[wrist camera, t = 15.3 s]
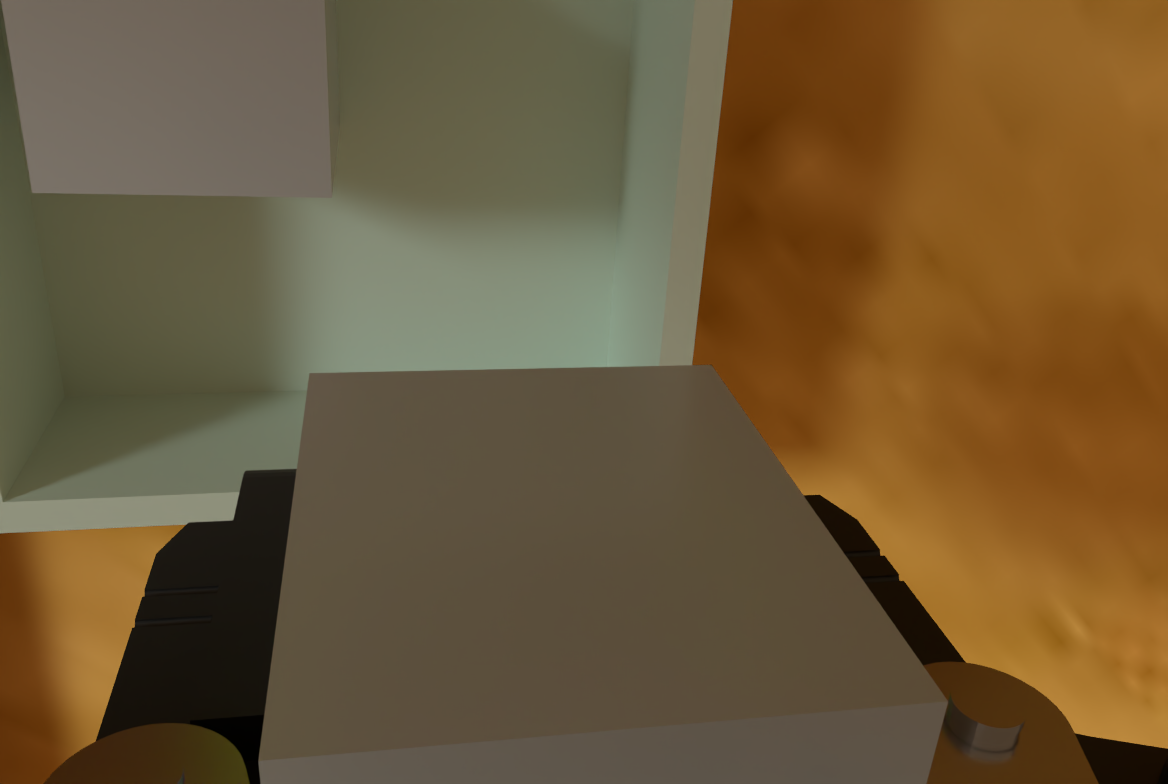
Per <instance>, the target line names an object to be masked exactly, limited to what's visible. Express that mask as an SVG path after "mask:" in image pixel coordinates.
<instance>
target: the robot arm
mask: <svg viewBox="0 0 1168 784" xmlns="http://www.w3.org/2000/svg"><path fill="white" fill-rule="evenodd" d="M296 471H297V469H273V470H246V471H245V472H244V474H243V478H242V483H241V487H240V492H239V496H238V501H237V506H236V510H235V515H234V519H233V520H231V521H209V522H189V523H188V524H187V525H186V526H185V527H184V528H183V529H182V530H180V531H179V532H178V533H177V534H176V535H175V536H174V537H173V538H172V539H171V540H170V541H169V542H168V543H167V544H166V545H165V546H164V547H163V548H162V549H161V550H160V551H159V552H158V553H157V554H156V556H155V559H154V562H153V566H152V569H151V572H150V575H149V578H148V581H147V584H146V587H145V597H142V600H141V603H140V606H139V609H138V612H137V615H136V618H135V628H132V631H131V634H130V637H129V640H128V643H127V646H126V649H125V652H124V655H123V659H122V662H121V665H120V668H119V671H118V674H117V677H116V680H115V683H114V686H113V689H112V693H111V696H110V699H109V702H108V705H107V708H106V711H105V714H104V717H103V720H102V724H101V727H100V730H99V733H98V736H97V739H96V742H94V743H92V744H90V745H88V746H87V747H85V748H83V749H81V750H80V751H78V752H77V753H76V754H74V755H73V756H71V757H70V758H69V759H67V760H66V761H65V762H64V763H63V764H62V765H60V766H59V767H58V768H57V769H56V770H55V771H54V772H53V773H52V774H51V775H50V777H49V778H48V779H47V780H46V781H45V782H44V784H261V783H260V773H259V763H258V760H259V752H260V744H261V737H262V729H263V722H264V714H265V706H266V699H267V691H268V684H269V676H270V668H271V661H272V653H273V646H274V638H275V630H276V623H277V615H278V608H279V600H280V592H281V585H282V577H283V570H284V562H285V554H286V547H287V539H288V532H289V524H290V517H291V509H292V501H293V494H294V486H295V479H296ZM804 497H805V499H806V500H807V501H808V503H809V504H810V506H811V507H812V509H813V510H814V511H815V513H816V514H817V516H818V517H819V518H820V520H821V521H822V523H823V524H824V526H825V527H826V528H827V530H828V531H829V533H830V534H831V536H832V537H833V538H834V540H835V541H836V543H837V544H838V545H839V547H840V548H841V550H842V551H843V553H844V554H845V555H846V557H847V558H848V560H849V561H850V563H851V564H852V565H853V567H854V568H855V570H856V571H857V572H858V574H859V575H860V577H861V578H862V580H863V581H864V582H865V584H866V585H867V587H868V588H869V590H870V591H871V592H872V594H873V595H874V597H875V598H876V599H877V601H878V602H879V604H880V605H881V607H882V608H883V609H884V611H885V612H886V614H887V615H888V617H889V618H890V619H891V621H892V622H893V624H894V625H895V626H896V628H897V629H898V631H899V632H900V634H901V635H902V636H903V638H904V639H905V641H906V642H907V644H908V645H909V646H910V648H911V649H912V651H913V652H914V653H915V655H916V656H917V658H918V659H919V661H920V662H921V663H922V665H923V666H924V668H925V669H926V671H927V672H928V673H929V675H930V676H931V678H932V679H933V680H934V682H935V683H936V685H937V686H938V688H939V689H940V690H941V692H942V693H943V695H944V696H945V698H946V699H947V700H948V704H947V708H946V712H945V715H944V719H943V723H942V727H941V730H940V734H939V738H938V742H937V746H936V749H935V753H934V757H933V761H932V764H931V768H930V772H929V776H928V780H927V783H926V784H1168V749H1165V748H1159V747H1153V746H1146V745H1140V744H1134V743H1128V742H1121V741H1115V740H1109V739H1102V738H1096V737H1090V736H1085V735H1080V734H1075V733H1074V731H1073V729H1072V727H1071V725H1070V724H1069V722H1068V720H1067V719H1066V717H1065V716H1064V715H1063V713H1062V712H1061V711H1060V710H1059V709H1058V707H1057V706H1056V705H1054V704H1053V703H1052V702H1051V701H1050V700H1049V699H1048V698H1047V697H1046V696H1044V695H1043V694H1042V693H1040V692H1039V691H1038V690H1036V689H1035V688H1033V687H1032V686H1030V685H1028V684H1026V683H1025V682H1023V681H1021V680H1019V679H1017V678H1015V677H1013V676H1011V675H1009V674H1007V673H1004V672H1001V671H998V670H995V669H993V668H989V667H985V666H981V665H977V664H971V663H966V662H965V661H964V660H963V658H962V657H961V656H960V654H959V653H958V652H957V650H956V649H955V648H954V646H953V645H952V644H951V642H950V641H949V640H948V639H947V637H946V636H945V635H944V633H943V632H942V631H941V629H940V628H939V627H938V625H937V624H936V623H935V621H934V620H933V619H932V617H931V616H930V615H929V614H928V612H927V611H926V610H925V608H924V607H923V606H922V604H921V603H920V602H919V600H918V599H917V598H916V596H915V595H914V594H913V593H912V591H911V590H910V589H909V587H908V586H907V585H906V583H905V582H904V581H899V574H898V573H897V571H896V570H895V569H894V568H893V566H892V565H891V564H890V562H889V561H888V560H887V558H886V557H885V556H880V549H879V548H878V546H877V545H876V544H875V543H874V541H873V540H872V539H871V537H870V536H869V535H868V533H867V532H866V531H865V529H864V528H863V527H862V525H861V524H860V523H859V522H858V520H857V519H855V518H854V517H852V516H851V515H849V514H848V513H846V512H845V511H843V510H842V509H840V508H839V507H837V506H836V505H834V504H833V503H831V502H830V501H828V500H827V499H825V498H824V497H822V496H821V495H805V496H804Z"/></svg>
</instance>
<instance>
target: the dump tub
mask: <svg viewBox="0 0 1168 784" xmlns="http://www.w3.org/2000/svg"><path fill="white" fill-rule="evenodd" d="M732 4H733V0H336V12H337V42H338V73H339V103H340V132H339V141H338V150H337V158H336V167H335V175H334V184H333V193H332V198H311V197H249V196H187V195H125V194H64V193H32V189H31V183H30V177H29V170H28V164H27V158H26V152H25V146H24V139H23V133H22V127H21V121H20V115H19V109H18V102H17V96H16V90H15V84H14V78H13V71H12V65H11V59H10V53H9V47H8V41H7V34H6V28H5V22H4V16H3V10H2V3H1V0H0V533H17V532H38V531H59V530H80V529H100V528H121V527H142V526H163V525H184V524H188V523H189V522H209V521H231V520H233V519H234V515H235V510H236V506H237V501H238V496H239V492H240V487H241V483H242V478H243V474H244V472H245V471H246V470H273V469H297V463H298V456H299V448H300V441H301V433H302V425H303V418H304V410H305V403H306V395H307V387H308V380H309V373H338V372H386V371H435V370H484V369H533V368H581V367H630V366H679V365H692V361H693V352H694V344H695V335H696V326H697V317H698V308H699V299H700V290H701V281H702V272H703V263H704V254H705V245H706V236H707V228H708V219H709V210H710V201H711V192H712V183H713V174H714V165H715V156H716V147H717V138H718V129H719V120H720V112H721V103H722V94H723V85H724V76H725V67H726V58H727V49H728V40H729V31H730V22H731V13H732Z"/></svg>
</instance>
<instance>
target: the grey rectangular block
mask: <svg viewBox="0 0 1168 784" xmlns="http://www.w3.org/2000/svg"><path fill="white" fill-rule="evenodd" d="M947 704H948V700H947V699H946V698H945V696H944V695H943V693H942V692H941V690H940V689H939V688H938V686H937V685H936V683H935V682H934V680H933V679H932V678H931V676H930V675H929V673H928V672H927V671H926V669H925V668H924V666H923V665H922V663H921V662H920V661H919V659H918V658H917V656H916V655H915V653H914V652H913V651H912V649H911V648H910V646H909V645H908V644H907V642H906V641H905V639H904V638H903V636H902V635H901V634H900V632H899V631H898V629H897V628H896V626H895V625H894V624H893V622H892V621H891V619H890V618H889V617H888V615H887V614H886V612H885V611H884V609H883V608H882V607H881V605H880V604H879V602H878V601H877V599H876V598H875V597H874V595H873V594H872V592H871V591H870V590H869V588H868V587H867V585H866V584H865V582H864V581H863V580H862V578H861V577H860V575H859V574H858V572H857V571H856V570H855V568H854V567H853V565H852V564H851V563H850V561H849V560H848V558H847V557H846V555H845V554H844V553H843V551H842V550H841V548H840V547H839V545H838V544H837V543H836V541H835V540H834V538H833V537H832V536H831V534H830V533H829V531H828V530H827V528H826V527H825V526H824V524H823V523H822V521H821V520H820V518H819V517H818V516H817V514H816V513H815V511H814V510H813V509H812V507H811V506H810V504H809V503H808V501H807V500H806V499H805V497H804V496H803V494H802V493H801V491H800V490H799V489H798V487H797V486H796V484H795V483H794V482H793V480H792V479H791V477H790V476H789V474H788V473H787V472H786V470H785V469H784V467H783V466H782V464H781V463H780V462H779V460H778V459H777V457H776V456H775V455H774V453H773V452H772V450H771V449H770V447H769V446H768V445H767V443H766V442H765V440H764V439H763V437H762V436H761V435H760V433H759V432H758V430H757V429H756V428H755V426H754V425H753V423H752V422H751V420H750V419H749V418H748V416H747V415H746V413H745V412H744V410H743V409H742V408H741V406H740V405H739V403H738V402H737V401H736V399H735V398H734V396H733V395H732V393H731V392H730V391H729V389H728V388H727V386H726V385H725V383H724V382H723V381H722V379H721V378H720V376H719V375H718V374H717V372H716V371H715V369H714V368H713V366H712V365H679V366H630V367H581V368H533V369H484V370H435V371H386V372H338V373H309V380H308V387H307V395H306V403H305V410H304V418H303V425H302V433H301V441H300V448H299V456H298V463H297V471H296V479H295V486H294V494H293V501H292V509H291V517H290V524H289V532H288V539H287V547H286V554H285V562H284V570H283V577H282V585H281V592H280V600H279V608H278V615H277V623H276V630H275V638H274V646H273V653H272V661H271V668H270V676H269V684H268V691H267V699H266V706H265V714H264V722H263V729H262V737H261V744H260V752H259V760H258V763H259V773H260V783H261V784H926V783H927V780H928V776H929V772H930V768H931V764H932V761H933V757H934V753H935V749H936V746H937V742H938V738H939V734H940V730H941V727H942V723H943V719H944V715H945V712H946V708H947Z"/></svg>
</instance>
